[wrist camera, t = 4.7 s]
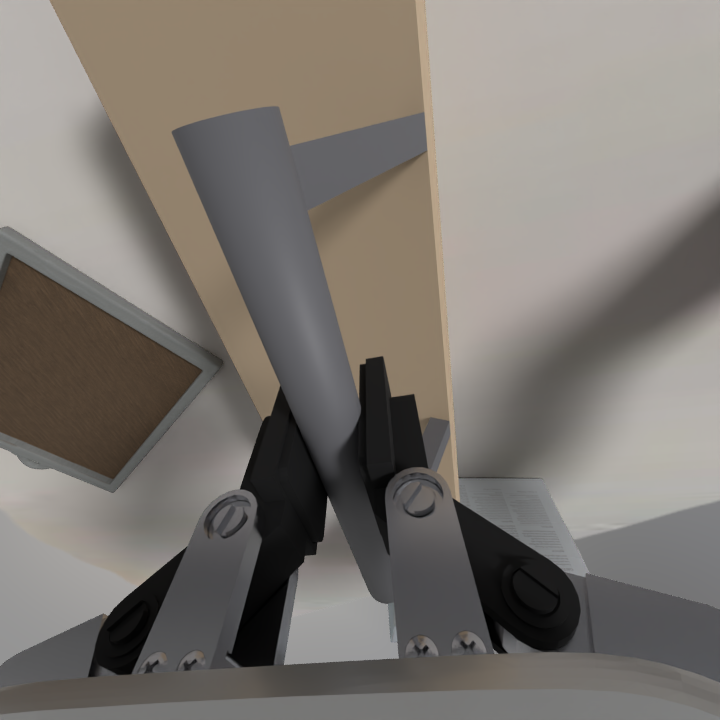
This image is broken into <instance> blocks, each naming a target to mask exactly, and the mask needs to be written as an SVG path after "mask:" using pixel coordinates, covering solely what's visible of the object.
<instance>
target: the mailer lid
mask: <svg viewBox="0 0 720 720" xmlns="http://www.w3.org/2000/svg"><path fill="white" fill-rule="evenodd" d="M50 2H51V4H52V6H53V8H54V10H55V12H56V14H57V16H58V18H59V20H60V22H61V24H62V26H63V28H64V30H65V32H66V33H67V35H68V37H69V39H70V41H71V43H72V45H73V47H74V49H75V51H76V53H77V55H78V57H79V59H80V61H81V63H82V65H83V67H84V69H85V71H86V73H87V75H88V77H89V79H90V81H91V83H92V85H93V87H94V89H95V91H96V93H97V95H98V97H99V99H100V101H101V103H102V105H103V107H104V109H105V111H106V113H107V114H108V116H109V118H110V120H111V122H112V124H113V126H114V128H115V130H116V132H117V134H118V136H119V138H120V140H121V142H122V144H123V146H124V148H125V150H126V152H127V154H128V156H129V158H130V160H131V162H132V164H133V166H134V168H135V170H136V172H137V174H138V176H139V178H140V180H141V182H142V184H143V186H144V188H145V190H146V192H147V194H148V196H149V197H150V199H151V201H152V203H153V205H154V207H155V209H156V211H157V213H158V215H159V217H160V219H161V221H162V223H163V225H164V227H165V229H166V231H167V233H168V235H169V237H170V239H171V241H172V243H173V245H174V247H175V249H176V251H177V253H178V255H179V257H180V259H181V261H182V263H183V265H184V267H185V269H186V271H187V273H188V275H189V277H190V278H191V280H192V282H193V284H194V286H195V288H196V290H197V292H198V294H199V296H200V298H201V300H202V302H203V304H204V306H205V308H206V310H207V312H208V314H209V316H210V318H211V320H212V322H213V324H214V326H215V328H216V330H217V332H218V334H219V336H220V338H221V340H222V342H223V344H224V346H225V348H226V350H227V352H228V354H229V356H230V358H231V359H232V361H233V363H234V365H235V367H236V369H237V371H238V373H239V375H240V377H241V379H242V381H243V383H244V385H245V387H246V389H247V391H248V393H249V395H250V397H251V399H252V401H253V403H254V405H255V407H256V409H257V411H258V413H259V415H260V417H261V419H262V421H263V420H264V418H265V417H267V416H271V413H272V410H273V406H274V403H275V400H276V397H277V394H278V391H279V388H280V386H281V388H282V390H283V393H284V395H285V397H286V400H287V402H288V404H289V407H290V409H291V411H292V413H293V416H294V418H295V420H296V423H297V425H298V427H299V430H300V432H301V434H302V437H303V439H304V441H305V444H306V446H307V448H308V451H309V453H310V455H311V458H312V460H313V462H314V465H315V467H316V469H317V472H318V474H319V476H320V478H321V481H322V483H323V485H324V488H325V490H326V492H327V495H328V497H329V499H330V502H331V504H332V506H333V509H334V511H335V513H336V516H337V518H338V520H339V523H340V525H341V527H342V530H343V532H344V534H345V537H346V539H347V541H348V543H349V546H350V548H351V550H352V553H353V555H354V557H355V560H356V562H357V564H358V567H359V569H360V571H361V574H362V576H363V578H364V581H365V583H366V585H367V588H368V590H369V592H370V594H371V595H372V597H373V598H374V599H375V600H377V601H379V602H381V603H385V604H389V603H393V602H394V596H393V585H392V573H391V562H390V556H389V555H388V554H387V551H386V548H385V545H384V541H383V538H382V535H380V532H379V529H378V525H377V522H376V519H375V516H374V513H373V510H372V507H371V504H370V501H369V497H368V494H367V491H366V488H365V485H364V482H363V479H362V476H361V472H360V467H359V459H358V436H359V417H360V414H361V405H360V401H359V370H360V364H366V359H368V358H374V357H380V356H383V358H384V362H385V367H386V372H387V377H388V382H389V387H390V392H391V397H397V396H404V395H410V394H414V395H415V400H416V405H417V411H418V416H419V421H420V426H421V432H422V437H423V442H424V447H425V452H426V458H427V463H428V468H429V469H431V470H433V471H435V472H437V473H438V474H440V475H441V476H442V477H443V478H444V479H445V480H446V482H447V484H448V486H449V488H450V491H451V495H452V498H454V499H455V500H457V501H458V502H460V494H459V480H458V465H457V451H456V437H455V423H454V408H453V394H452V380H451V366H450V351H449V337H448V323H447V309H446V294H445V280H444V266H443V252H442V237H441V223H440V209H439V195H438V180H437V166H436V152H435V138H434V123H433V109H432V95H431V81H430V66H429V52H428V38H427V24H426V9H425V0H50Z"/></svg>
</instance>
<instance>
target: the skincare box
mask: <svg viewBox="0 0 720 720" xmlns="http://www.w3.org/2000/svg"><path fill="white" fill-rule="evenodd" d="M458 480H459V494H460V503H461V504H463V505H465V506H466V507H468V508H469V509H471V510H472V511H474V512H476V513H477V514H479V515H480V516H482V517H483V518H485V519H486V520H488V521H490V522H491V523H493V524H494V525H496V526H497V527H499V528H501V529H502V530H504V531H505V532H507V533H508V534H510V535H512V536H513V537H515V538H516V539H518V540H519V541H521V542H523V543H524V544H526V545H527V546H529V547H530V548H532V549H533V550H535V551H537V552H538V553H540V554H541V555H543V556H544V557H546V558H548V559H549V560H551V561H552V562H553V563H554V564H556V565H557V566H558V567H559V568H561V569H562V570H563V571H564V572H567V573H571V574H575V575H578V576H582V577H584V576H585V574H586V573H588V574H590V573H589V571H588V569H587V567H586V565H585V563H584V561H583V558H582V556H581V554H580V552H579V550H578V548H577V546H576V544H575V542H574V540H573V538H572V536H571V534H570V532H569V530H568V528H567V526H566V524H565V523H564V521H563V520H562V518H561V516H560V514H559V512H558V510H557V508H556V506H555V504H554V502H553V500H552V498H551V496H550V493H549V491H548V489H547V488H546V485H545V483H544V481H543V479H525V478H458ZM388 610H389V624H390V638H391V642H397V631H396V620H395V608H394V602H393V603H389V604H388Z"/></svg>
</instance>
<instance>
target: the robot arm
mask: <svg viewBox="0 0 720 720" xmlns="http://www.w3.org/2000/svg"><path fill="white" fill-rule="evenodd" d="M359 401H360V405H361V414H360V417H359V436H358V459H359V467H360V472H361V476H362V479H363V482H364V485H365V488H366V491H367V494H368V497H369V501H370V504H371V507H372V510H373V513H374V516H375V519H376V522H377V525H378V529H379V532H380V535H382V538H383V541H384V545H385V548H386V551H387V554H388V555H389V556H390V562H391V573H392V585H393V596H394V608H395V620H396V631H397V643H398V654H399V659H382V660H364V661H346V662H327V663H312V664H294V665H284V660H285V653H286V648H287V642H288V635H289V629H290V623H291V617H292V611H293V605H294V599H295V593H296V587H297V581H298V568H299V567H300V565H301V564H302V563H303V562H304V557H305V556H307V555H316V550H317V542H322V541H323V537H324V528H325V517H326V507H327V496H328V495H327V492H326V490H325V488H324V485H323V483H322V481H321V478H320V476H319V474H318V472H317V469H316V467H315V465H314V462H313V460H312V458H311V455H310V453H309V451H308V448H307V446H306V444H305V441H304V439H303V437H302V434H301V432H300V430H299V427H298V425H297V423H296V420H295V418H294V416H293V413H292V411H291V409H290V407H289V404H288V402H287V400H286V397H285V395H284V393H283V390H282V388H281V386H280V388H279V391H278V394H277V397H276V400H275V403H274V406H273V410H272V413H271V416H267V417H265V418H264V420H263V422H262V425H261V428H260V431H259V434H258V437H257V440H256V443H255V446H254V449H253V452H252V455H251V458H250V460H249V463H248V466H247V469H246V472H245V475H244V478H243V481H242V484H241V487H240V490H233V491H229V492H227V493H225V494H223V495H221V496H219V497H218V498H217V499H215V500H214V501H213V502H212V503H211V504H210V505H209V506H208V507H207V508H206V509H205V510H204V512H203V514H202V516H201V517H200V519H199V521H198V524H197V526H196V528H195V531H194V533H193V535H192V537H191V540H190V542H189V544H188V546H187V547H186V548H185V549H183V550H182V551H181V552H180V553H179V554H177V555H176V556H175V557H174V558H173V559H171V560H170V561H169V562H168V563H167V564H165V565H164V566H163V567H162V568H161V569H159V570H158V571H157V572H156V573H155V574H153V575H152V576H151V577H150V578H149V579H147V580H146V581H145V582H144V583H142V584H141V585H140V586H139V587H138V588H136V589H135V590H134V591H133V592H132V593H130V594H129V595H128V596H127V597H126V598H124V600H123V601H121V602H120V603H119V604H118V605H117V606H116V607H115V608H114V609H113V611H112V612H111V614H110V615H109V616H107V615H105V614H101V615H99V616H97V617H95V618H93V619H90V620H88V621H86V622H84V623H82V624H80V625H78V626H76V627H73V628H71V629H69V630H67V631H65V632H63V633H61V634H58V635H56V636H54V637H52V638H50V639H48V640H46V641H43V642H42V643H39V644H37V645H35V646H33V647H31V648H29V649H27V650H24V651H22V652H20V653H18V654H16V655H15V656H13V657H12V658H10V659H8V660H7V661H6V662H4V663H3V664H2V665H1V666H0V720H720V609H717V608H715V607H712V606H710V605H707V604H703V603H699V602H695V601H691V600H687V599H683V598H680V597H676V596H672V595H668V594H664V593H661V592H657V591H653V590H649V589H645V588H641V587H638V586H634V585H630V584H625V583H622V582H618V581H615V580H611V579H607V578H603V577H599V576H595V575H591V574H588V573H586V574H585V576H584V577H582V576H578V575H575V574H571V573H567V572H564V571H563V570H562V569H561V568H559V567H558V566H557V565H556V564H554V563H553V562H552V561H551V560H549V559H548V558H546V557H544V556H543V555H541V554H540V553H538V552H537V551H535V550H533V549H532V548H530V547H529V546H527V545H526V544H524V543H523V542H521V541H519V540H518V539H516V538H515V537H513V536H512V535H510V534H508V533H507V532H505V531H504V530H502V529H501V528H499V527H497V526H496V525H494V524H493V523H491V522H490V521H488V520H486V519H485V518H483V517H482V516H480V515H479V514H477V513H476V512H474V511H472V510H471V509H469V508H468V507H466V506H465V505H463V504H461V503H460V502H458V501H457V500H455V499H454V498H452V495H451V491H450V488H449V486H448V484H447V482H446V480H445V479H444V478H443V477H442V476H441V475H440V474H438V473H437V472H435V471H433V470H431V469H429V468H428V463H427V458H426V452H425V447H424V442H423V437H422V432H421V426H420V421H419V416H418V411H417V405H416V400H415V395H414V394H410V395H404V396H397V397H391V392H390V387H389V382H388V377H387V372H386V367H385V362H384V358H383V356H380V357H374V358H368V359H366V364H360V370H359ZM493 649H494V650H495V651H497V653H499V654H494V651H493Z"/></svg>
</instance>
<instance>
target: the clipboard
mask: <svg viewBox="0 0 720 720" xmlns="http://www.w3.org/2000/svg"><path fill="white" fill-rule="evenodd" d="M222 364H223V361H222V360H220V359H219V358H217V357H216V356H214V355H213V354H211V353H209V352H208V351H206V350H205V349H203V348H202V347H200V346H198V345H197V344H195V343H194V342H192V341H190V340H189V339H187V338H186V337H184V336H182V335H181V334H179V333H178V332H176V331H174V330H173V329H171V328H170V327H168V326H167V325H165V324H163V323H162V322H160V321H159V320H157V319H155V318H154V317H152V316H151V315H149V314H147V313H146V312H144V311H143V310H141V309H140V308H138V307H136V306H135V305H133V304H132V303H130V302H128V301H127V300H125V299H124V298H122V297H120V296H119V295H117V294H116V293H114V292H112V291H111V290H109V289H108V288H106V287H105V286H103V285H101V284H100V283H98V282H97V281H95V280H93V279H92V278H90V277H89V276H87V275H85V274H84V273H82V272H81V271H79V270H78V269H76V268H74V267H73V266H71V265H70V264H68V263H66V262H65V261H63V260H62V259H60V258H58V257H57V256H55V255H54V254H52V253H50V252H49V251H47V250H46V249H44V248H43V247H41V246H39V245H38V244H36V243H35V242H33V241H31V240H30V239H28V238H27V237H25V236H23V235H22V234H20V233H19V232H17V231H15V230H14V229H12V228H10V227H8V226H7V227H3V228H0V448H3V449H5V450H8V451H10V452H11V453H13V454H15V455H17V457H18V458H19V460H20V461H21V462H22V463H23V464H25V465H26V466H28V467H30V468H33V469H49V468H51V469H55V470H57V471H60V472H62V473H65V474H67V475H70V476H72V477H75V478H77V479H80V480H82V481H85V482H87V483H90V484H92V485H94V486H97V487H99V488H102V489H104V490H107V491H109V492H112V493H114V492H115V491H116V490H117V489H118V487H119V486H120V485H121V484H122V483H123V481H124V480H125V479H126V478H127V477H128V476H129V474H130V473H131V472H132V471H133V470H134V469H135V467H136V466H137V465H138V464H139V463H140V462H141V460H142V459H143V458H144V457H145V456H146V454H147V453H148V452H149V451H150V450H151V449H152V447H153V446H154V445H155V444H156V443H157V442H158V440H159V439H160V438H161V437H162V436H163V435H164V433H165V432H166V431H167V430H168V429H169V428H170V426H171V425H172V424H173V423H174V422H175V420H176V419H177V418H178V417H179V416H180V415H181V413H182V412H183V411H184V410H185V409H186V408H187V406H188V405H189V404H190V403H191V402H192V401H193V399H194V398H195V397H196V396H197V395H198V394H199V392H200V391H201V390H202V389H203V388H204V386H205V385H206V384H207V383H208V382H209V381H210V379H211V378H212V377H213V376H214V375H215V374H216V372H217V371H218V370H219V369H220V367H221V366H222ZM32 460H33V461H32ZM34 461H35V462H34ZM37 462H38V463H37Z"/></svg>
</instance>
